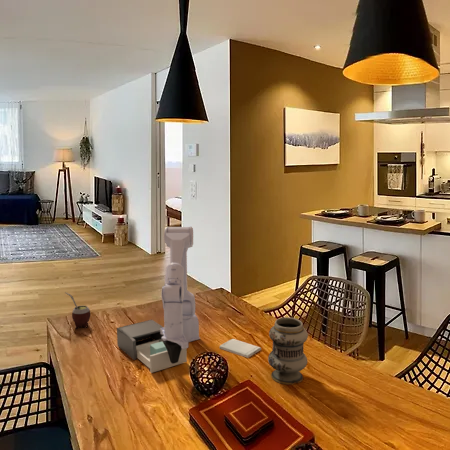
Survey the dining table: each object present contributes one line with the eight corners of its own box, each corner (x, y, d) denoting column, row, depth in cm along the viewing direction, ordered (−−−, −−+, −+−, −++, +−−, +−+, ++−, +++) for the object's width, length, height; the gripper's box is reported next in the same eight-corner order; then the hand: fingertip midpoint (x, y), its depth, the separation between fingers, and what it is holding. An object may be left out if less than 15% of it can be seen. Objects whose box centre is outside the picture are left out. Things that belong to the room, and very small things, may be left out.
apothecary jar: (282, 390, 131) (283, 332, 128) (260, 372, 141) (261, 318, 138) (314, 380, 136) (316, 324, 133) (291, 364, 147) (292, 312, 144)
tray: (162, 344, 162) (162, 329, 161) (186, 361, 148) (186, 345, 147) (129, 353, 154) (128, 338, 153) (151, 372, 141) (150, 356, 140)
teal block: (162, 353, 153) (161, 341, 152) (168, 358, 149) (168, 345, 148) (150, 357, 150) (150, 344, 149) (156, 362, 147) (156, 349, 146)
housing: (152, 336, 170) (151, 319, 168) (170, 349, 158) (169, 331, 157) (117, 345, 161) (116, 327, 160) (133, 359, 150) (132, 340, 149)
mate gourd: (94, 325, 181) (92, 290, 178) (79, 332, 174) (76, 295, 172) (82, 321, 185) (80, 287, 182) (66, 328, 178) (64, 292, 176)
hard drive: (219, 345, 159) (247, 354, 151) (233, 338, 165) (261, 346, 158) (219, 350, 159) (247, 359, 152) (233, 342, 166) (261, 351, 158)
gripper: (151, 317, 143) (152, 357, 145) (173, 331, 131) (174, 374, 133) (170, 312, 147) (171, 351, 149) (194, 326, 135) (194, 368, 137)
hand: (174, 362), depth 141 cm, fingers closed
